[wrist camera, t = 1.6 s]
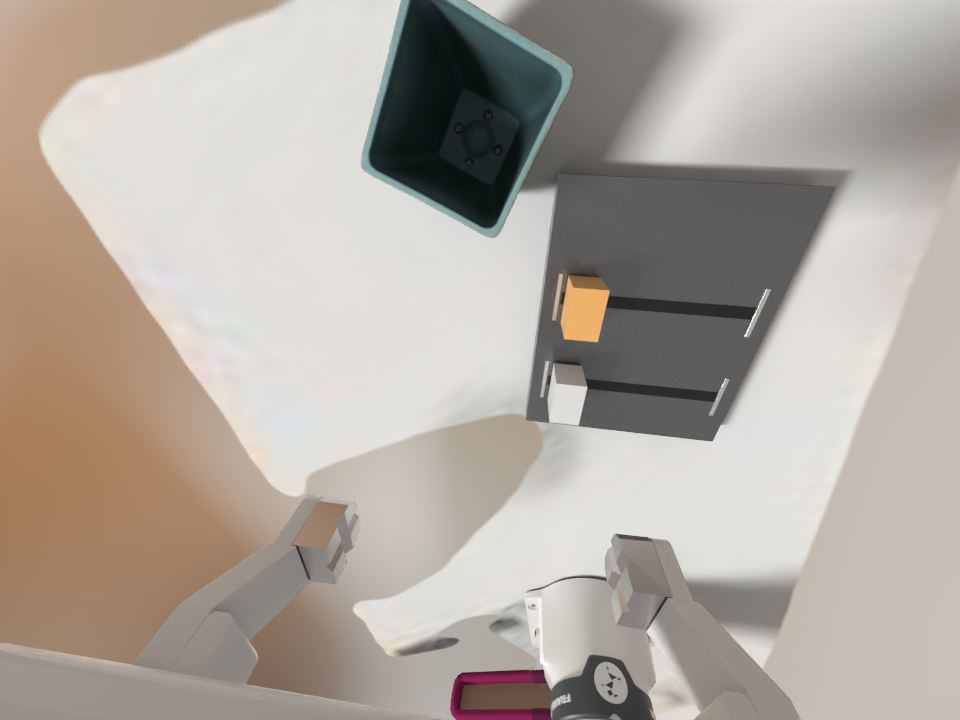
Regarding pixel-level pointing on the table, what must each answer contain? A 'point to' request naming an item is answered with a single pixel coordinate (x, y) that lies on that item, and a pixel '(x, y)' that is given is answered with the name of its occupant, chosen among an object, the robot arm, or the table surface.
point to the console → (668, 293)
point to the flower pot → (462, 110)
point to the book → (501, 696)
